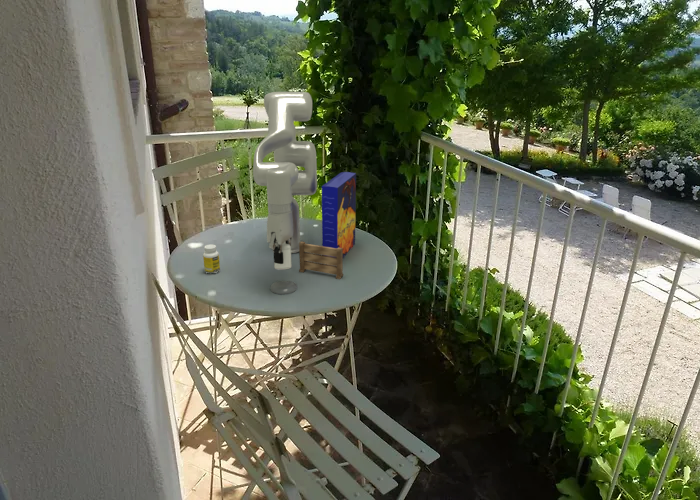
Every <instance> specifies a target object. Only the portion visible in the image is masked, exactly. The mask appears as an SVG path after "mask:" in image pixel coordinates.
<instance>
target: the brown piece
mask: <svg viewBox="0 0 700 500" xmlns="http://www.w3.org/2000/svg"><path fill="white" fill-rule="evenodd" d="M300 241H301V240H300ZM298 253H299V270H298V271H299V272H298V273H304V272H305V271H307V270H308V271H313V272H319V273H325V274H330V275H336V276H335V279H337V280H341V279H342V277H343V276H344V273H343V270H344V269H343V268H344V267H343V266H344V265H343V264H344V263H343V261H344V258H343V248H339V247H338V248H331V247H324V246H322V245H317V244H310V243H306V242H305V241H301V242H300V243H299V252H298ZM325 255H327V256H325ZM331 256H333V257H331Z"/></svg>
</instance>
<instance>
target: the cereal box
mask: <svg viewBox="0 0 700 500" xmlns="http://www.w3.org/2000/svg"><path fill="white" fill-rule="evenodd" d="M356 192H357V173H356V172H349V171H343V172H340V173H338V174H337V175H336V176H333V178H331V179H330V180H328V181H327V182H325V183H324V184H323V185H322V186H321V215H322V216H321V227H322V229H321V233H322V235H321V236H322V237H321V238H322V239H321V240H322V241H321V242H322V245H321V246H324V247H331V248H338V247H339V248H343V259H344V258H345V257H346V256H347V254H349V253H350V251H351V250H352V249H353V247H354V246H355V245H356V210H357V209H356V208H357V205H356V203H357V201H356V200H357V198H356V197H357V193H356ZM325 256H327V255H325ZM331 257H333V256H331Z"/></svg>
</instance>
